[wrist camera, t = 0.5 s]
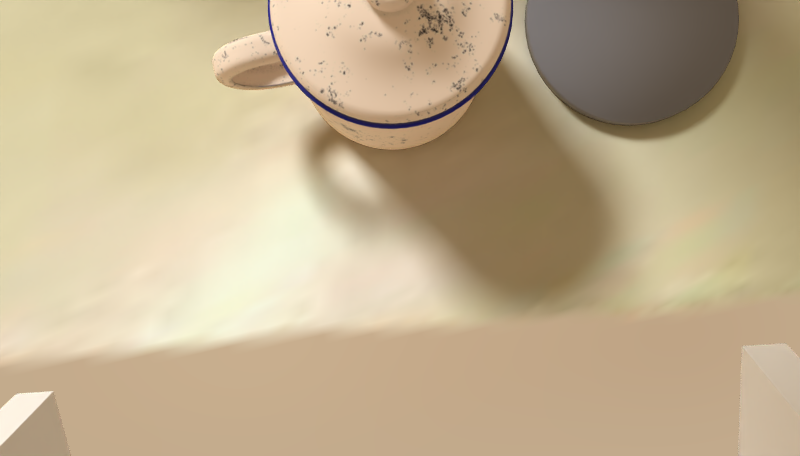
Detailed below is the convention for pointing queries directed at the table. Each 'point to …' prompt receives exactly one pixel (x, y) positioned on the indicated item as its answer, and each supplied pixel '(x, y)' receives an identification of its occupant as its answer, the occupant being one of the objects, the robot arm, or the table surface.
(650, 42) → the charcoal coaster
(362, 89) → the teacup with lid
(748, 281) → the table surface
